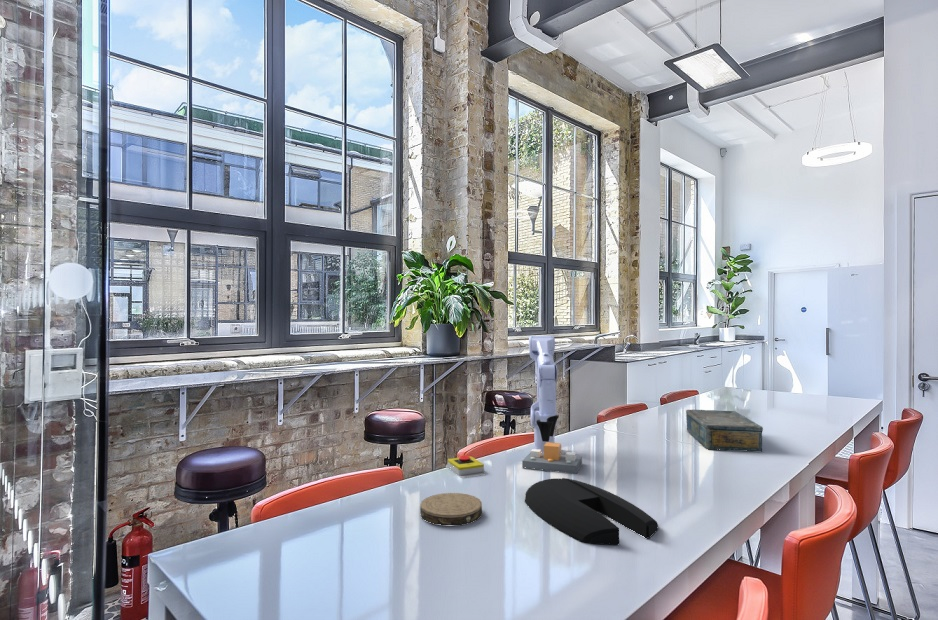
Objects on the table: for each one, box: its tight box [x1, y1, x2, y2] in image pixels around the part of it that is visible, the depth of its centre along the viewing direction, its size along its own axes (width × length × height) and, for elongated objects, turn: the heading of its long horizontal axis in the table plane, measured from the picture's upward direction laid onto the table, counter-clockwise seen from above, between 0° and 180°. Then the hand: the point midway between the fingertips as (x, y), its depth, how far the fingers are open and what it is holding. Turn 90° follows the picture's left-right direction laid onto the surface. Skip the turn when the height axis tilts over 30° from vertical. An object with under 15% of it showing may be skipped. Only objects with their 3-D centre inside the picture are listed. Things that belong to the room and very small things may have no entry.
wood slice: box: [419, 492, 483, 526], centre depth 135 cm, size 16×16×3 cm
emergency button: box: [445, 455, 488, 479], centre depth 173 cm, size 9×4×15 cm
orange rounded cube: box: [544, 442, 562, 460], centre depth 178 cm, size 5×5×4 cm
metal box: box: [685, 409, 764, 452], centre depth 210 cm, size 21×32×10 cm, turn 170°
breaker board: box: [521, 448, 583, 474], centre depth 177 cm, size 12×18×4 cm, turn 69°
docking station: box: [524, 477, 659, 546], centre depth 136 cm, size 25×40×5 cm, turn 22°
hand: (547, 438), depth 179 cm, fingers open, 7 cm apart
